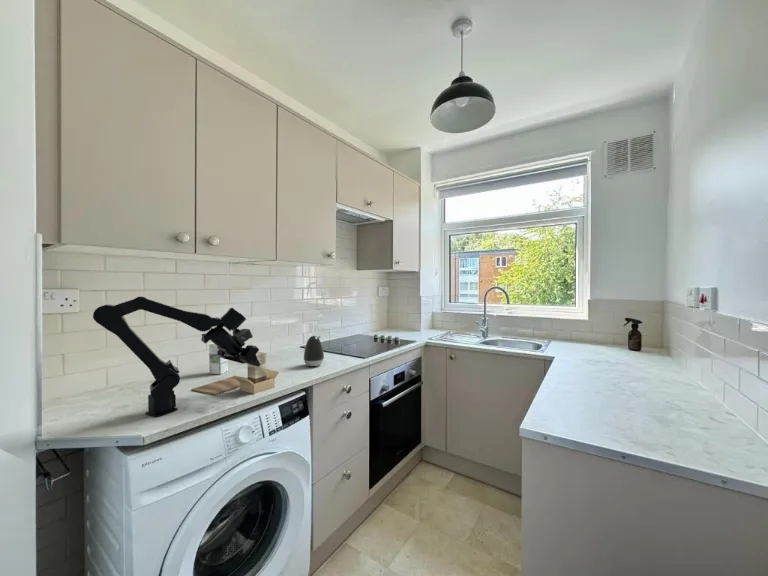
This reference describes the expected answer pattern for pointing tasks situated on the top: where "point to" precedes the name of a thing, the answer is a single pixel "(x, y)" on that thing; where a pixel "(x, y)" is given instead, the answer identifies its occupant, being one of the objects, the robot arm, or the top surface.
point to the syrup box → (216, 361)
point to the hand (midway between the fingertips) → (251, 364)
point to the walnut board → (219, 386)
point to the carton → (258, 387)
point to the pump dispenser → (313, 352)
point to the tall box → (258, 369)
